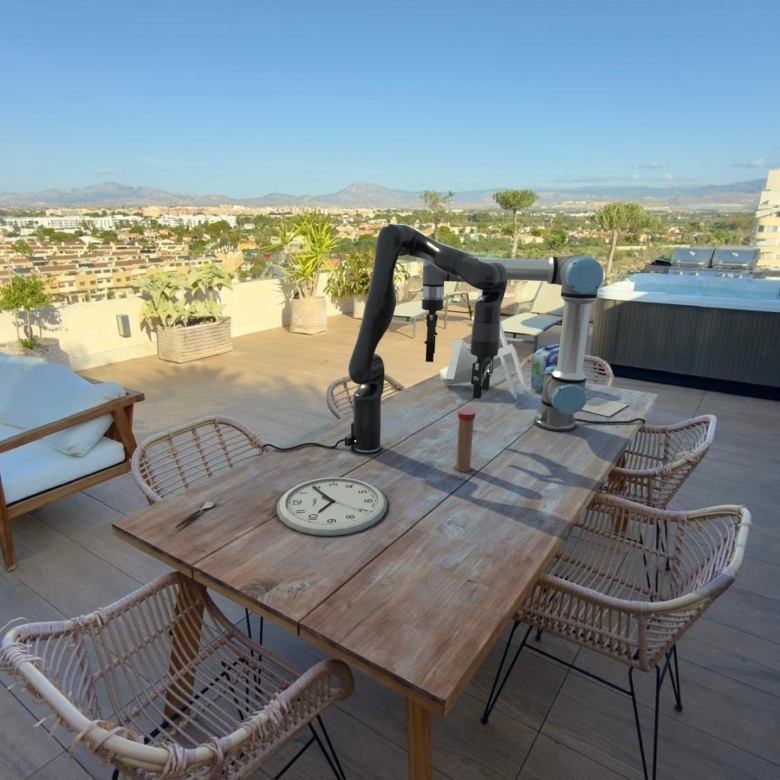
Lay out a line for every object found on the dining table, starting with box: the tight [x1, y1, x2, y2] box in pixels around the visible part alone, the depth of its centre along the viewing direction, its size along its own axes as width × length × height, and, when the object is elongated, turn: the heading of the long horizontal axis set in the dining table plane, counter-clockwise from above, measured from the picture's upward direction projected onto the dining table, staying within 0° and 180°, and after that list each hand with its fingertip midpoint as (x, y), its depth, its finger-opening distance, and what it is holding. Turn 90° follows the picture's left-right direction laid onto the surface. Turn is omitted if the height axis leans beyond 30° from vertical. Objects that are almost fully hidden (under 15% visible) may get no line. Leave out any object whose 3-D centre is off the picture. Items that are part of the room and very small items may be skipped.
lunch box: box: [530, 343, 560, 392], centre depth 248 cm, size 26×11×21 cm, turn 134°
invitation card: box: [580, 396, 629, 418], centre depth 226 cm, size 21×1×15 cm
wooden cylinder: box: [455, 418, 475, 473], centre depth 163 cm, size 4×4×19 cm
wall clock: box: [276, 476, 388, 537], centre depth 142 cm, size 30×2×30 cm
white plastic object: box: [438, 320, 531, 400], centre depth 245 cm, size 37×45×31 cm
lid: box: [457, 408, 476, 420], centre depth 160 cm, size 5×5×2 cm
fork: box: [174, 492, 220, 529], centre depth 137 cm, size 3×16×2 cm, turn 160°
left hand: (480, 394), depth 148 cm, fingers open, 8 cm apart
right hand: (430, 357), depth 190 cm, fingers open, 13 cm apart
